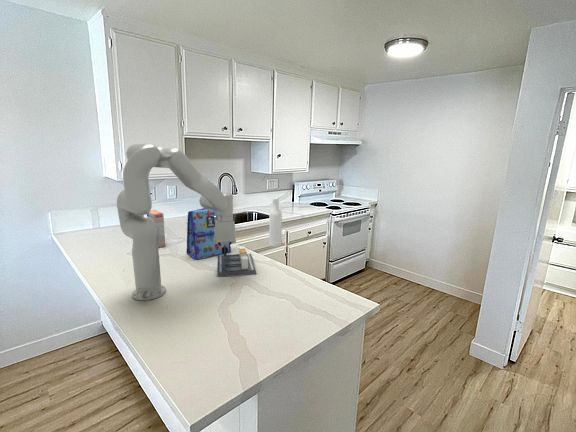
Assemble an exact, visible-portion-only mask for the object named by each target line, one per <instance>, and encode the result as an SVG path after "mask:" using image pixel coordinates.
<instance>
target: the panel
mask: <svg viewBox="0 0 576 432" xmlns="http://www.w3.org/2000/svg"><path fill="white" fill-rule="evenodd" d="M247 257H248V269H242V267H241V261H240V255H239V253H237V254H236V253H235V254H227V255H223V254H220V255H217V265H216V266H217V267H216V268H217V270H216V272H217V273H216V277H217V278H219V277H221V278H222V277H232V276H233V277H234V276H248V275H256V274H257V268H256V266H255V262H254V258H253V255H252V253H247Z"/></svg>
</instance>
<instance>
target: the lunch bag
mask: <svg viewBox="0 0 576 432" xmlns="http://www.w3.org/2000/svg"><path fill="white" fill-rule="evenodd" d="M216 215H217V211H214V210H209V209H206V208H203V207H202V208H198V209H194V210H189V211H188V212H187V222H186V223H187V224H186V225H187V226H186V252H185V253H186V254H187V255H189V256H191V257H192V258H193V259H194V260H195V261H196V260H200V259H201V260H202V259H205V258H210V257H214V256H215V257H216V256H221V255H223V253H222V247H221V246H220V245H219V244H215V243H214V229H215V222H216V221H217V220H216V219H214V216H216ZM223 243H224V246H226V242H223ZM230 253H232V248H231V245H230V246H229V247H228V253H227V254H230Z"/></svg>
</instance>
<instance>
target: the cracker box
mask: <svg viewBox="0 0 576 432" xmlns="http://www.w3.org/2000/svg"><path fill="white" fill-rule="evenodd" d="M146 218H148V219H150V220H152V221H154V222H155V223H156V224H157V226H158V228H159V240H158V249H159V248H163V247H166V236H165V220H164V213H163V212H160V211H159V210H156V209H151V210H150V211H149V213H147V214H146Z"/></svg>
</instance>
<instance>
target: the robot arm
mask: <svg viewBox="0 0 576 432" xmlns="http://www.w3.org/2000/svg"><path fill="white" fill-rule="evenodd" d="M125 154H126V159H127V162H126V163H125V165H124V167H123V171H122V174H123V175H122V180H123V188H124V189H123V190H122V191H120V192H119V193H118V195H117V198H116V208H117V214H118V220H119V226H120V229H121V232H122V233H123V234H124V235H125V236H127V237H128V238H129V239H130V238H131V240H132V248H131V256H132V263H133V264H132V265H133V273H134V274H133V275H134V284H135V289H134V290H133V291H132V292H131V293H132V294H131V297H132V299H133V300H137V301H152V300H155V299H157V298H160V297H161V296H163V295H164V294H165V293H166V292H167V291H166V290H167V289H166V286H164V285H162V276H161V265H160V253H159V248H158V240H159V228H158V226H157V224H156V223H155V222H154V221H152V220H150V219H148V218H147V217H145V215H147V213H149V211H150V210H152V206H153V205H152V197H151V191H150V182H149V181H150V180H149V177H150V172H151V171H152V169H153V168H162V169H163V168H165V169H169V170H170V171H171V172H172V174H174V175H175V177H176V178H178V180H179V181H180V182H181V183H182V184H183V185H184V186H185V187H186V188H188V189H190V190H191V191H193V192H195V193H197V194H198V195H201V196H200V197H199V201H198V202H199V204H200V206H201V207H202V209H203V208H206V209H209V210H214V211H217V215H216V216H214V219H216V220H217V221H216V222H215V229H214V243H215V244H219V245H220V246H221V247H222V253H223V254H222V255H228V254H229V253H228V247H229V246H230V247H231V245H233V244H236V243H237V240H236V235H237V234H236V224H235V220H234V218H233V217H234V214H233V213H234V208H233V207H234V195H233V194H232V193H231V192H230V193H229V192H222V191H221V189H220V188H219V187H218V186H217V185H216V184H214V182H212V181H211V180H210V179H209V178H207V177H206V176H205V175H203V174H202V173H201V172H200V171H199V170H198V169H197V168H196V166H195V165H194V164H193V163H192V161H191V160H190V158H189V157H188V156H187V155H186V154H185V153H184V151H182V150H181V149H180V148H177V147H159V146H157V145H154V144H151V143H135V144H131V145H130V146H129V147H128V148H127V150H126V153H125ZM223 242H226V246H224V243H223Z"/></svg>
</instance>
